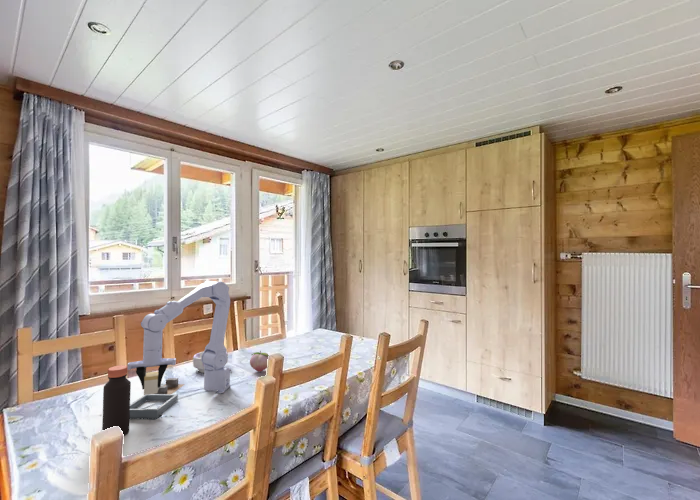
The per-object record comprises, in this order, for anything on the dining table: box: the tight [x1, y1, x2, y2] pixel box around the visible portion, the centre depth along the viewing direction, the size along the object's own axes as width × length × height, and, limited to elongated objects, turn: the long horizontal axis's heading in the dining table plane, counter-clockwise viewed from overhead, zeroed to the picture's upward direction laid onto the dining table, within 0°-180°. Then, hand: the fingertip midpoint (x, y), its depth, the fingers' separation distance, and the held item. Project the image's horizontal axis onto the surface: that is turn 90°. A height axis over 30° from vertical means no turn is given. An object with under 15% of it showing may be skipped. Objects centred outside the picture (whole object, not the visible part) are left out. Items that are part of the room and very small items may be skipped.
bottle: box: [101, 364, 131, 437], centre depth 100 cm, size 7×7×20 cm
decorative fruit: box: [249, 350, 270, 373], centre depth 157 cm, size 9×8×10 cm
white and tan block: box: [143, 371, 159, 396], centre depth 117 cm, size 4×5×6 cm
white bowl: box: [192, 351, 229, 374], centre depth 158 cm, size 15×15×8 cm
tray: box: [130, 393, 179, 420], centre depth 116 cm, size 12×13×3 cm
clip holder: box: [155, 377, 185, 394], centre depth 131 cm, size 8×13×4 cm, turn 0°
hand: (151, 387), depth 116 cm, fingers closed on white and tan block, 4 cm apart
